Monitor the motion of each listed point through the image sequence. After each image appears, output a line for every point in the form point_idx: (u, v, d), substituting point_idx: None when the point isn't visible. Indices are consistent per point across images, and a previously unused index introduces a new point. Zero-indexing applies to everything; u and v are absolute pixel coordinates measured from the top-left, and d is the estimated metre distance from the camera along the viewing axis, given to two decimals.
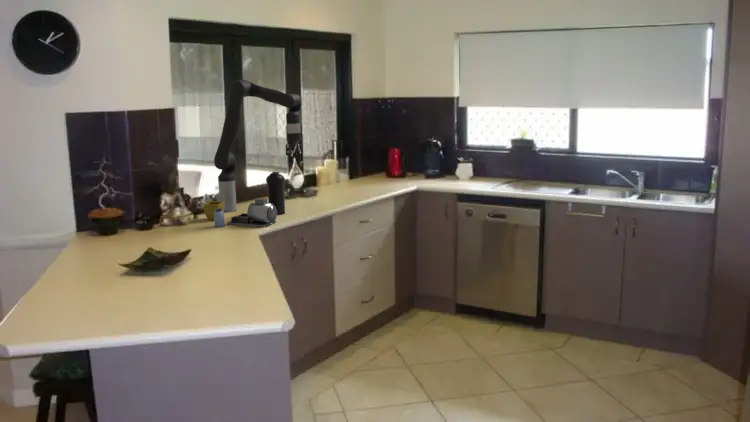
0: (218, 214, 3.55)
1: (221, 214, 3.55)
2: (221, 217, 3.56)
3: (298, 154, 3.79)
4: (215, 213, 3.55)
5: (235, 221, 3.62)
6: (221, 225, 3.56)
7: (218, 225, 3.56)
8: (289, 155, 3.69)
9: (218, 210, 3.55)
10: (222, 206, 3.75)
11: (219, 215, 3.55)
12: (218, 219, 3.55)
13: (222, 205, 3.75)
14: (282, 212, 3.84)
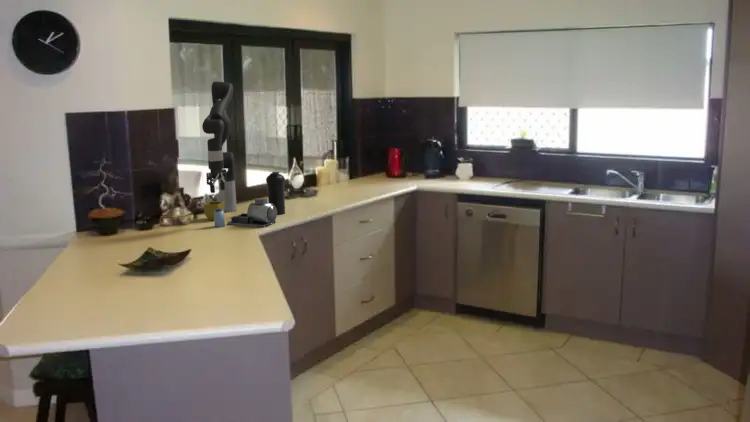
0: (218, 214, 3.55)
1: (221, 214, 3.55)
2: (221, 217, 3.56)
3: (222, 182, 3.58)
4: (215, 213, 3.55)
5: (235, 221, 3.62)
6: (221, 225, 3.56)
7: (218, 225, 3.56)
8: (210, 184, 3.48)
9: (218, 210, 3.55)
10: (222, 206, 3.75)
11: (219, 215, 3.55)
12: (218, 219, 3.55)
13: (222, 205, 3.75)
14: (282, 212, 3.84)
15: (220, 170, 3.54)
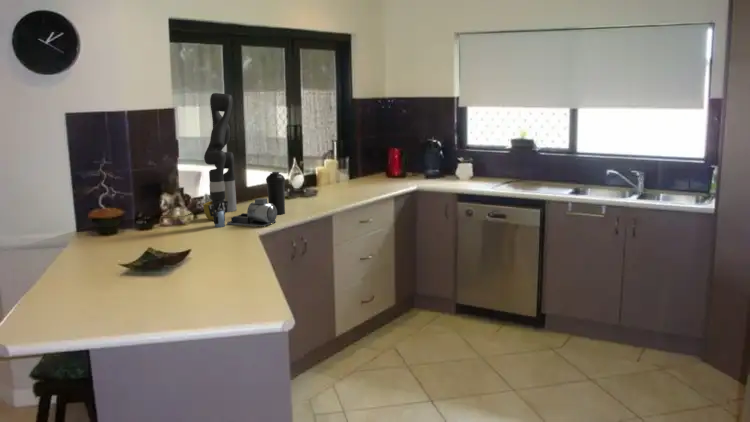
0: (218, 214, 3.55)
1: (221, 214, 3.55)
2: (221, 217, 3.56)
3: None
4: (215, 213, 3.55)
5: (235, 221, 3.62)
6: (221, 225, 3.56)
7: (218, 225, 3.56)
8: (214, 216, 3.52)
9: None
10: None
11: (219, 215, 3.55)
12: (218, 219, 3.55)
13: None
14: (282, 212, 3.84)
15: (222, 200, 3.57)
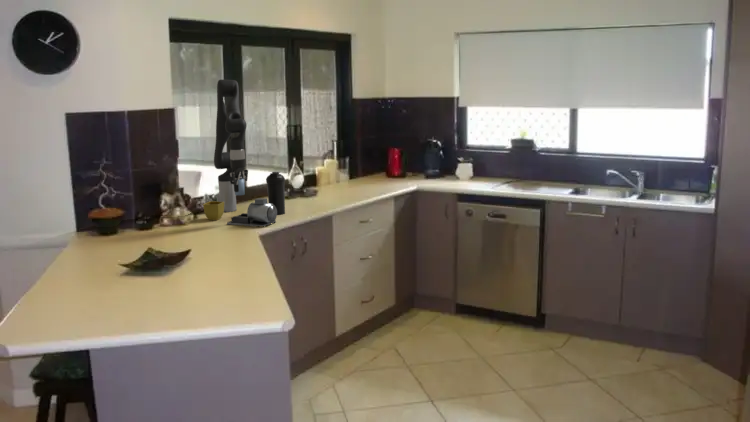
0: (239, 182, 3.58)
1: (241, 182, 3.58)
2: (242, 185, 3.59)
3: None
4: None
5: (235, 221, 3.62)
6: (241, 193, 3.59)
7: (238, 193, 3.59)
8: (234, 184, 3.56)
9: None
10: (222, 206, 3.75)
11: (239, 183, 3.58)
12: (238, 187, 3.58)
13: (222, 205, 3.75)
14: (282, 212, 3.84)
15: (242, 168, 3.60)
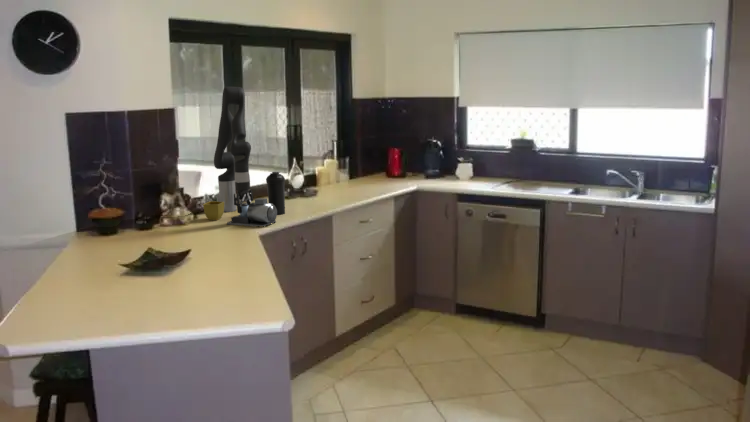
0: (244, 208, 3.62)
1: (247, 209, 3.62)
2: None
3: (248, 203, 3.67)
4: None
5: (235, 221, 3.62)
6: None
7: None
8: (237, 205, 3.57)
9: (244, 205, 3.62)
10: (222, 206, 3.75)
11: (245, 210, 3.62)
12: (244, 213, 3.62)
13: (222, 205, 3.75)
14: (282, 212, 3.84)
15: (247, 191, 3.63)
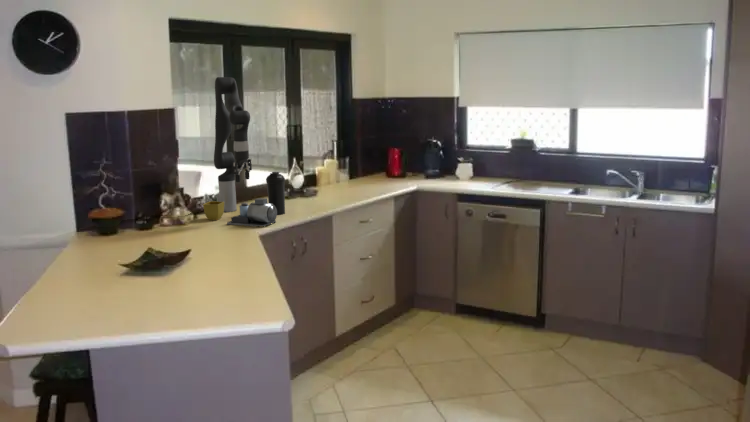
0: (244, 208, 3.62)
1: (247, 209, 3.62)
2: None
3: (247, 172, 3.68)
4: (241, 208, 3.62)
5: (235, 221, 3.62)
6: None
7: None
8: (236, 174, 3.58)
9: (244, 205, 3.62)
10: (222, 206, 3.75)
11: (245, 210, 3.62)
12: (244, 213, 3.62)
13: (222, 205, 3.75)
14: (282, 212, 3.84)
15: (245, 160, 3.64)
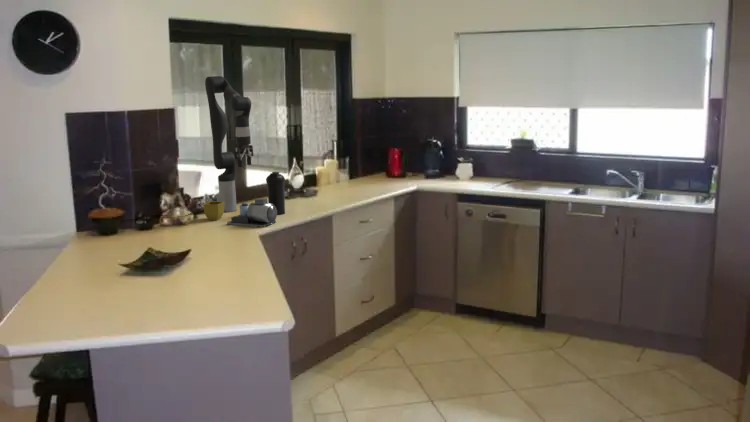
0: (245, 208, 3.62)
1: (247, 209, 3.62)
2: None
3: (248, 158, 3.76)
4: (241, 208, 3.62)
5: (235, 221, 3.62)
6: None
7: None
8: (238, 159, 3.66)
9: (244, 205, 3.62)
10: (222, 206, 3.75)
11: (245, 210, 3.62)
12: (244, 213, 3.62)
13: (222, 205, 3.75)
14: (282, 212, 3.84)
15: (247, 146, 3.72)
